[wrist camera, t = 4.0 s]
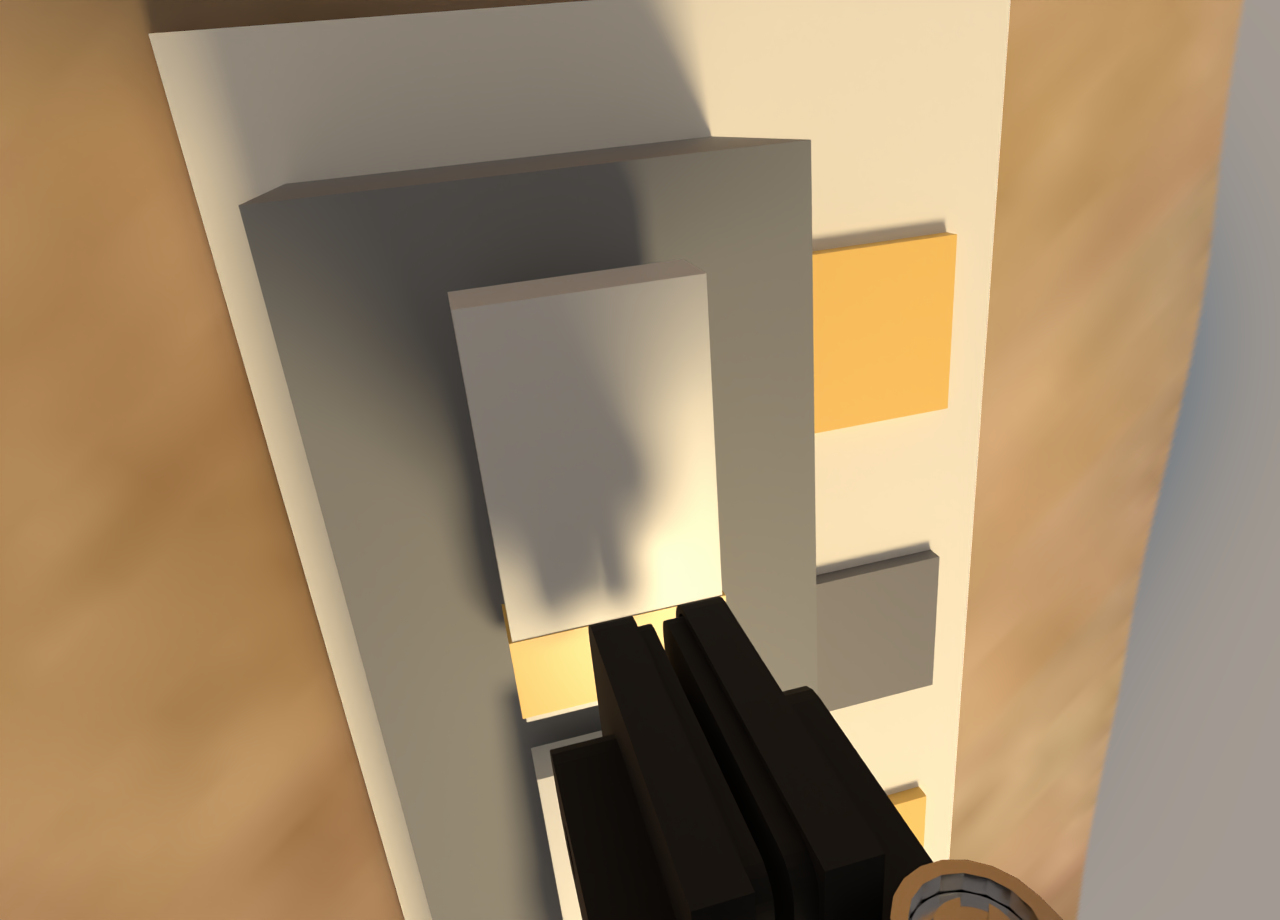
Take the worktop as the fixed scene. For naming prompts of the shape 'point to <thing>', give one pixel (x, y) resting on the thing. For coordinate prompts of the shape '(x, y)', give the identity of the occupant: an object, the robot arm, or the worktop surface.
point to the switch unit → (593, 241)
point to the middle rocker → (557, 824)
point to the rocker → (592, 459)
